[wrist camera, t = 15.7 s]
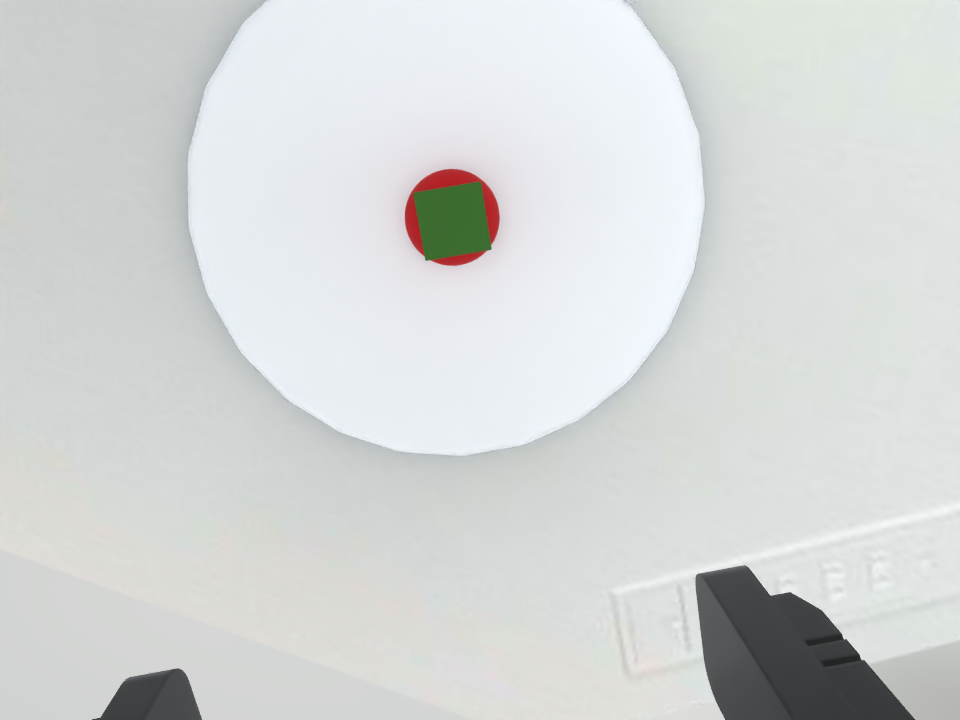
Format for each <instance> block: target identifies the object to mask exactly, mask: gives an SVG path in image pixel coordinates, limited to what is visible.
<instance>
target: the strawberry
mask: <svg viewBox="0 0 960 720" xmlns="http://www.w3.org/2000/svg"><path fill="white" fill-rule="evenodd" d="M499 223H500V214H499V207H498V203H497V200H496V198H495V196H494V194H493V192H492V191H491V189H490V188H489V186H488V185H487V184H486V183H485V182H484V181H483V180H482V179H480V178H479V177H477V176H476V175H474V174H472V173H470V172H467V171H464V170H459V169H444V170H440V171H437V172H434V173H432V174H430V175H428V176H426V177H425V178H424V179H422V180H421V181H420V182H419V183H418V184H417V185H416V186H415V188H414V189H413V190H412V192H411V194H410V196H409V198H408V200H407V204H406V208H405V226H406V230H407V233H408V236H409V238H410V240H411V242H412V244H413V245H414V247H415V248H416V249H417V250H418V251H419V252H420V253H421V254H422V255H423V256H424V257H425V260H426V261H429V260H431V261H433V262H435V263H438V264H441V265H447V266H458V265H463V264H467V263H470V262H472V261H474V260H476V259H478V258H479V257H480V256H482V255H483V254H484V253H485V252H486V251H488V250H491V249H492V248H491V245H492V243H493V242H494V240H495V238H496V235H497V232H498V229H499Z"/></svg>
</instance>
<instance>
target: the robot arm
mask: <svg viewBox="0 0 960 720" xmlns="http://www.w3.org/2000/svg"><path fill="white" fill-rule="evenodd" d="M696 594H697V602H698V611H699V620H700V629H701V637H702V646H703V655H704V662H705V667H706V672H707V676H708V679H709V683H710V686H711V689H712V692H713V695H714V697H715V700H716V702H717V704H718V706H719V708H720V710H721V712H722V714H723V716H724V718H725V720H915V719H914V718H913V717H912V716H911V714H910V713H909V712H908V711H907V710H906V709H905V707H904V706H903V705H902V704H901V703H900V702H899V700H898V699H897V698H896V697H895V696H894V695H893V693H892V692H891V691H890V690H889V689H888V688H887V687H886V685H885V684H884V683H883V682H882V681H881V679H880V678H879V677H878V676H877V675H876V674H875V672H874V671H873V670H872V669H871V668H870V666H869V665H868V664H867V663H866V662H865V661H864V660H861V658H860V655H859V654H858V652H857V651H856V650H855V649H854V648H853V647H852V645H851V644H850V643H849V642H848V641H847V639H845V640H844V639H843V636H842V634H841V632H840V631H839V630H838V629H837V628H836V627H835V625H834V624H833V623H832V622H831V621H830V620H829V618H828V617H827V616H826V615H825V614H824V613H823V611H822V610H820V609H818V608H817V607H815V606H813V605H812V604H810V603H808V602H806V601H805V600H803V599H801V598H799V597H798V596H796V595H794V594H792V593H791V592H789V593H784V594H778V595H773V596H770V595H769V594H768V592H767V591H766V590H765V588H764V587H763V586H762V584H761V583H760V582H759V580H758V579H757V578H756V577H755V575H754V574H753V573H752V571H751V570H750V569H749V568H748V567H747V566H745V565H744V566H738V567H733V568H727V569H722V570H716V571H711V572H706V573H700V574H697V575H696ZM92 720H202V718H201V715H200V712H199V709H198V707H197V704H196V701H195V698H194V695H193V692H192V689H191V686H190V683H189V680H188V678H187V676H186V674H185V673H184V672H183V671H182V670H181V669H172V670H167V671H161V672H156V673H150V674H145V675H139V676H134V677H129V678H128V679H126V680H125V681H124V682H123V683H122V685H121V686H120V688H119V689H118V691H117V692H116V694H115V696H114V697H113V699H112V700H111V702H110V704H109V705H108V707H107V708H106V710H105V712H104V713H103V715H102V716H101V718H97V719H92Z"/></svg>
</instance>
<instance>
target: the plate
mask: <svg viewBox="0 0 960 720" xmlns="http://www.w3.org/2000/svg"><path fill="white" fill-rule="evenodd" d="M444 169H459V170H464V171H467V172H470V173H472V174H474V175H476V176H477V177H479V178H480V179H482V180H483V181H484V182H485V183H486V184H487V185H488V186H489V188H490V189H491V191H492V192H493V194H494V196H495V198H496V200H497V203H498V207H499V214H500V223H499V229H498V232H497V235H496V238H495V240H494V242H493V243H492V245H491V248H492V249H491V250H488V251H486V252H485V253H484V254H483V255H482V256H480V257H479V258H478V259H476V260H474V261H472V262H470V263H467V264H463V265H458V266H447V265H441V264H438V263H435V262H433V261H431V260H429V261H426V260H425V257H424V256H423V255H422V254H421V253H420V252H419V251H418V250H417V249H416V248H415V247H414V245H413V244H412V242H411V240H410V238H409V236H408V233H407V230H406V226H405V208H406V204H407V200H408V198H409V196H410V194H411V192H412V190H413V189H414V188H415V186H416V185H417V184H418V183H419V182H420V181H421V180H422V179H424V178H425V177H426V176H428V175H430V174H432V173H434V172H437V171H440V170H444ZM704 209H705V196H704V185H703V173H702V162H701V151H700V140H699V134H698V131H697V128H696V125H695V123H694V120H693V117H692V114H691V111H690V109H689V106H688V103H687V100H686V98H685V95H684V92H683V89H682V87H681V84H680V81H679V78H678V75H677V73H676V70H675V68H674V67H673V65H672V64H671V62H670V61H669V59H668V58H667V57H666V55H665V54H664V52H663V51H662V49H661V48H660V47H659V45H658V44H657V42H656V41H655V39H654V38H653V37H652V35H651V34H650V32H649V31H648V29H647V28H646V27H645V25H644V24H643V22H642V21H641V20H640V18H639V17H638V15H637V14H636V12H635V11H634V10H633V9H632V8H631V7H630V6H628V5H627V4H626V3H625V2H624V1H622V0H267V1H266V2H265V3H264V4H263V5H261V6H260V7H259V8H258V9H257V10H256V11H255V12H254V13H253V14H252V15H251V16H250V17H249V18H248V19H247V20H246V21H245V22H244V23H243V24H242V25H241V27H240V29H239V31H238V32H237V34H236V36H235V37H234V39H233V41H232V43H231V44H230V46H229V48H228V49H227V51H226V53H225V55H224V56H223V58H222V60H221V61H220V63H219V65H218V66H217V68H216V70H215V72H214V73H213V75H212V77H211V78H210V80H209V82H208V84H207V85H206V88H205V92H204V95H203V99H202V103H201V107H200V111H199V115H198V118H197V122H196V126H195V130H194V134H193V138H192V141H191V145H190V149H189V153H188V227H189V231H190V234H191V238H192V242H193V245H194V249H195V253H196V256H197V260H198V264H199V267H200V271H201V274H202V278H203V282H204V285H205V289H206V293H207V295H208V297H209V298H210V300H211V302H212V304H213V305H214V307H215V309H216V310H217V312H218V314H219V316H220V317H221V319H222V321H223V323H224V324H225V326H226V328H227V330H228V331H229V333H230V335H231V337H232V338H233V340H234V342H235V344H236V345H237V347H238V349H239V351H240V352H241V353H242V354H243V355H244V356H245V357H246V358H247V359H248V360H249V361H250V362H251V364H252V365H253V366H254V367H255V368H256V369H257V370H258V371H259V372H260V373H261V374H262V375H263V376H264V377H265V378H266V379H267V380H268V381H269V382H270V383H271V384H272V385H273V386H274V387H275V388H276V389H277V390H278V391H279V392H280V393H281V394H282V395H283V397H284V398H285V399H287V400H288V401H290V402H291V403H293V404H295V405H296V406H298V407H300V408H301V409H303V410H304V411H306V412H308V413H309V414H311V415H312V416H314V417H316V418H317V419H319V420H321V421H322V422H324V423H325V424H327V425H329V426H330V427H332V428H333V429H335V430H337V431H338V432H340V433H342V434H346V435H349V436H352V437H355V438H358V439H361V440H364V441H367V442H370V443H374V444H377V445H380V446H383V447H386V448H389V449H392V450H395V451H399V452H407V453H422V454H437V455H452V456H466V455H471V454H477V453H483V452H488V451H494V450H499V449H505V448H510V447H516V446H521V445H525V444H527V443H529V442H531V441H534V440H536V439H538V438H540V437H542V436H545V435H547V434H549V433H551V432H554V431H556V430H558V429H560V428H562V427H565V426H567V425H569V424H571V423H574V422H576V421H578V420H580V419H581V418H583V417H584V416H585V415H586V414H588V413H589V412H590V411H591V410H593V409H594V408H595V407H596V406H598V405H599V404H600V403H602V402H603V401H604V400H605V399H607V398H608V397H609V396H610V395H612V394H613V393H614V392H616V391H617V390H618V389H619V388H621V387H622V386H623V385H624V384H626V383H627V382H628V381H629V380H630V379H631V378H632V376H633V375H634V374H635V372H636V371H637V370H638V369H639V367H640V366H641V365H642V363H643V362H644V361H645V360H646V358H647V357H648V356H649V354H650V353H651V352H652V350H653V349H654V348H655V347H656V345H657V344H658V343H659V341H660V340H661V339H662V338H663V336H664V335H665V334H666V332H667V331H668V329H669V327H670V325H671V323H672V320H673V318H674V316H675V313H676V311H677V309H678V307H679V304H680V302H681V300H682V297H683V295H684V293H685V291H686V288H687V286H688V284H689V281H690V279H691V277H692V274H693V272H694V269H695V263H696V257H697V251H698V245H699V239H700V233H701V227H702V221H703V215H704Z"/></svg>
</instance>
